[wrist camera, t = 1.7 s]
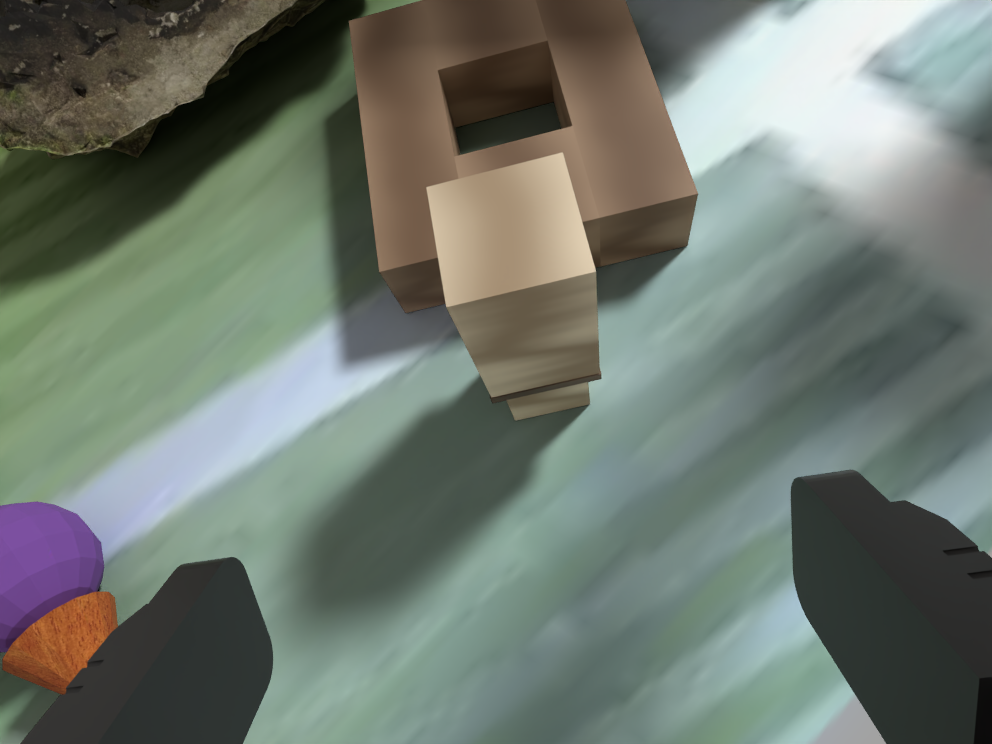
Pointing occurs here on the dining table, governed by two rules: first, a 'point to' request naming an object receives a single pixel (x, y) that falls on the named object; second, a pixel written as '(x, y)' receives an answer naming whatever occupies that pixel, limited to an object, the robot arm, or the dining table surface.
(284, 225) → the dining table surface
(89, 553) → the kendama
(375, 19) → the seat board
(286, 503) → the dining table surface
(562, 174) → the beech leg
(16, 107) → the hollow geode rock
